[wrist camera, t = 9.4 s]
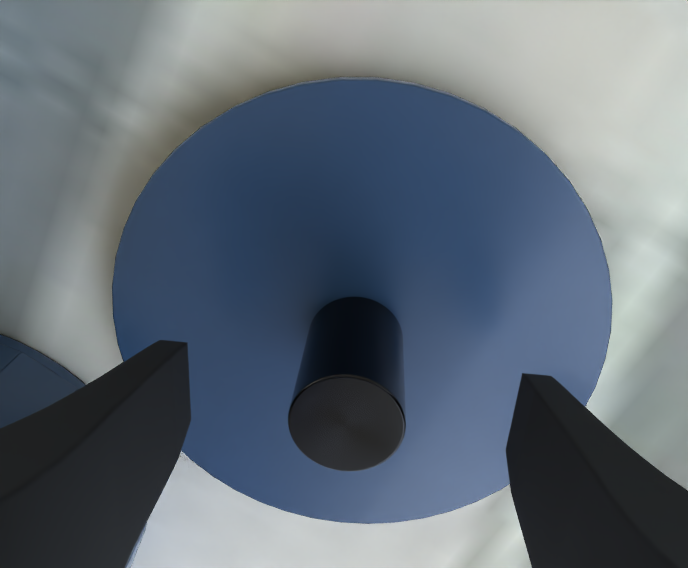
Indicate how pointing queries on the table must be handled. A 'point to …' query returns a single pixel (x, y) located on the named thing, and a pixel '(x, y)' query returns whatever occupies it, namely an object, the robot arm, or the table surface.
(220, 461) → the lid
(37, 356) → the bowl
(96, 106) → the table surface
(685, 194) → the table surface
